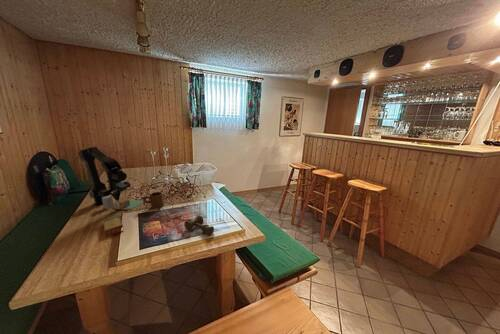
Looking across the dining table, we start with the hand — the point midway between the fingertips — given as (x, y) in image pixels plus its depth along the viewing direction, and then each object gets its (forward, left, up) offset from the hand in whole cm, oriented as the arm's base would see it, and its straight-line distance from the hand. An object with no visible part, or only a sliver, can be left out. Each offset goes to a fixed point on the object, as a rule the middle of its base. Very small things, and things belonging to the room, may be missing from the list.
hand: (117, 200), depth 129 cm
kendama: (+64, -5, -7) cm, 64 cm away
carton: (+16, -17, -7) cm, 24 cm away
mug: (+20, +10, -7) cm, 23 cm away
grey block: (-10, +1, -6) cm, 12 cm away
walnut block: (0, -1, -3) cm, 3 cm away
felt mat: (0, +9, -6) cm, 11 cm away
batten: (0, +1, -6) cm, 7 cm away
